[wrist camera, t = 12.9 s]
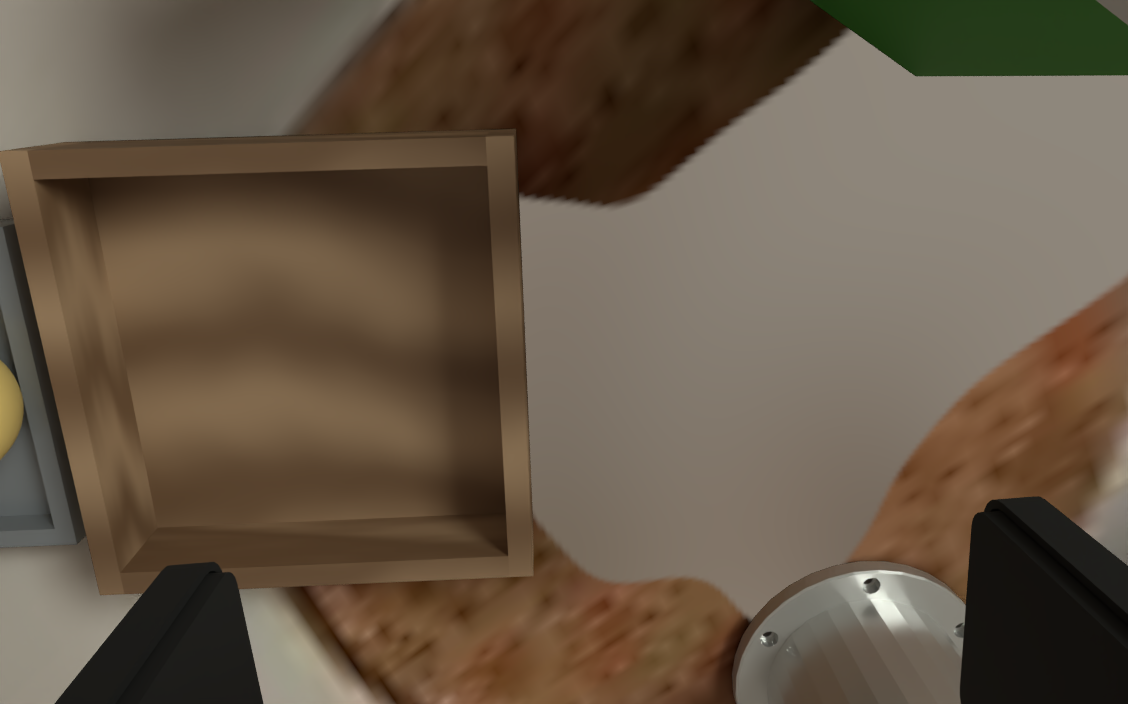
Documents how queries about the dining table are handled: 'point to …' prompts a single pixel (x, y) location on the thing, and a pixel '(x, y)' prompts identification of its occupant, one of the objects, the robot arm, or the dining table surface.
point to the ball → (9, 409)
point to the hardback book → (993, 35)
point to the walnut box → (286, 352)
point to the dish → (32, 423)
